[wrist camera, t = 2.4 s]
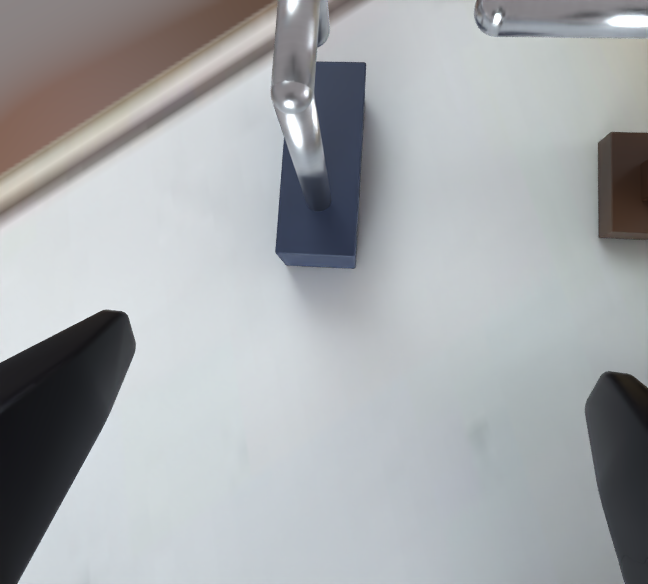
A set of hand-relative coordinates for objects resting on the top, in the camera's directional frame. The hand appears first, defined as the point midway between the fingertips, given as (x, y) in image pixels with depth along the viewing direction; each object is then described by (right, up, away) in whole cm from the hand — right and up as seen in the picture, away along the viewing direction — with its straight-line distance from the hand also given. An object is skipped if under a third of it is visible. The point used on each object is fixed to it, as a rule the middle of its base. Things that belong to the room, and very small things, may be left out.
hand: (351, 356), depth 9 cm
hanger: (0, +7, +15) cm, 16 cm away
